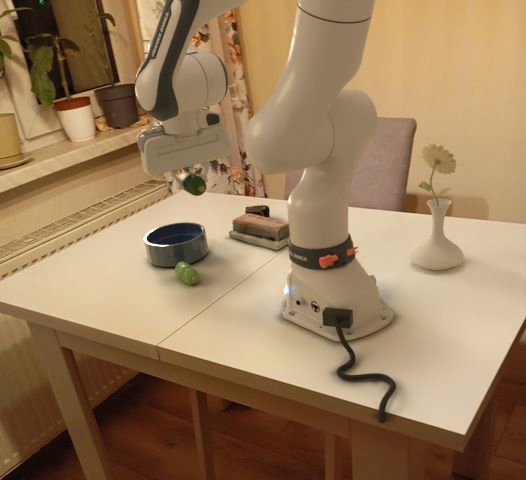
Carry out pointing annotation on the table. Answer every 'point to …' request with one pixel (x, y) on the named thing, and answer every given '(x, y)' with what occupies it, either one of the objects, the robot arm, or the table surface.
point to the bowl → (176, 244)
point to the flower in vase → (437, 217)
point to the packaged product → (261, 231)
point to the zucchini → (193, 183)
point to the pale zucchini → (187, 273)
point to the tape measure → (258, 210)
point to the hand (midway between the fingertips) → (192, 185)
